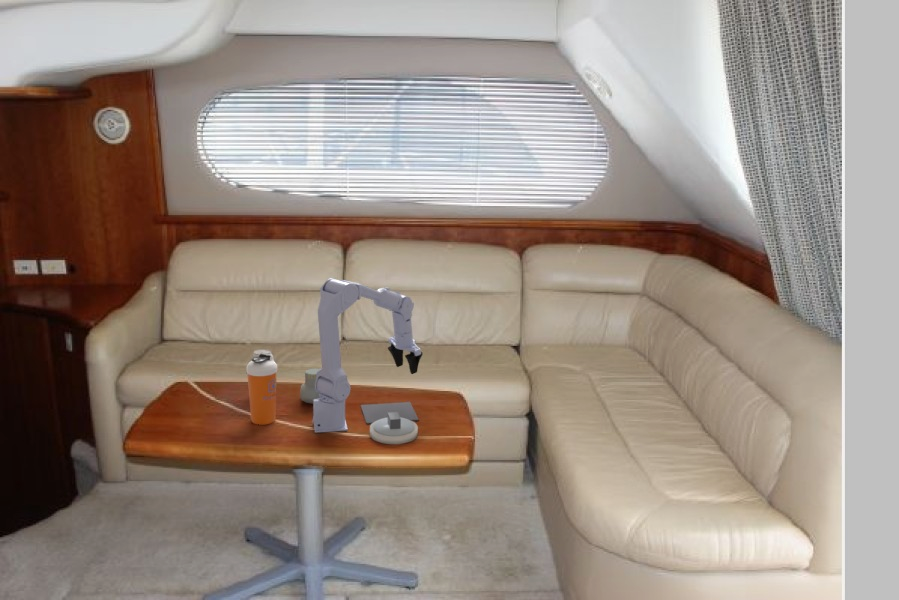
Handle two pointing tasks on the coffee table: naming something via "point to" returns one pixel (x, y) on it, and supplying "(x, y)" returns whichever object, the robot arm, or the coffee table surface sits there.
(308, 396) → the air freshener
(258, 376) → the shaker bottle
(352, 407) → the coffee table surface
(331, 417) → the robot arm
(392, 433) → the lid
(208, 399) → the coffee table surface
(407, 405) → the mat
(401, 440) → the dish
